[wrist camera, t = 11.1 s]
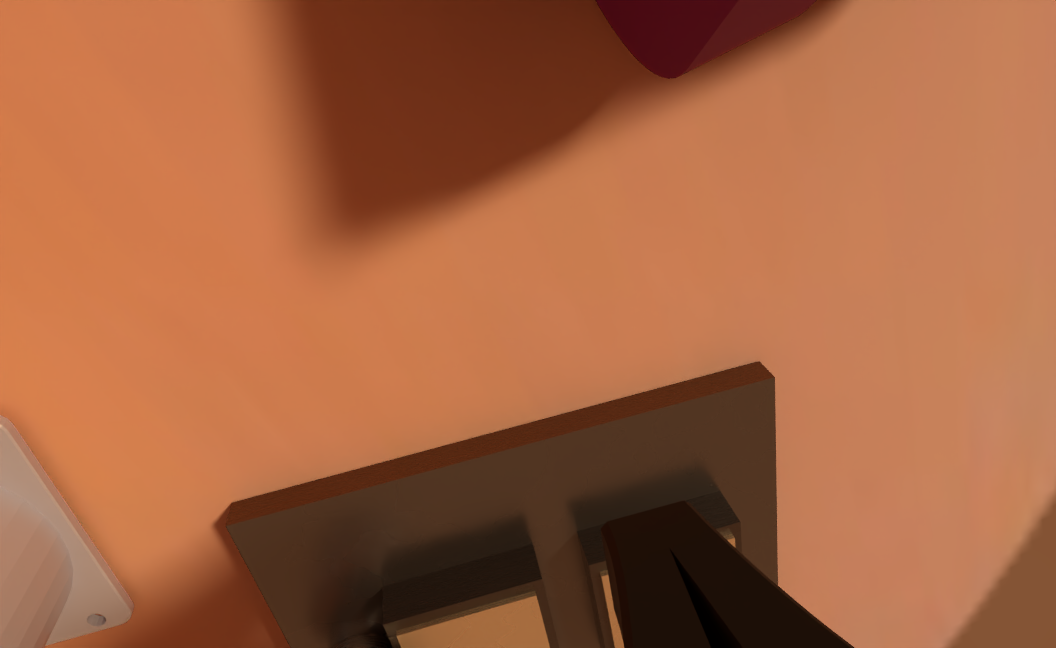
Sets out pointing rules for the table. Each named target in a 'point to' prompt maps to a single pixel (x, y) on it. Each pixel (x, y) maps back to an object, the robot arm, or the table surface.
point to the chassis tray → (512, 522)
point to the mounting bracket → (692, 28)
